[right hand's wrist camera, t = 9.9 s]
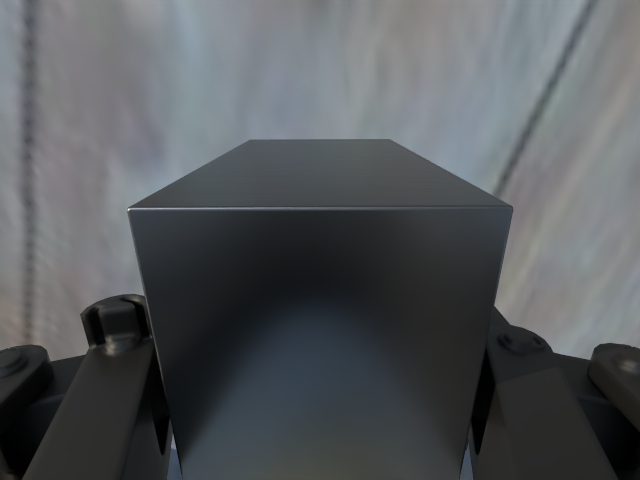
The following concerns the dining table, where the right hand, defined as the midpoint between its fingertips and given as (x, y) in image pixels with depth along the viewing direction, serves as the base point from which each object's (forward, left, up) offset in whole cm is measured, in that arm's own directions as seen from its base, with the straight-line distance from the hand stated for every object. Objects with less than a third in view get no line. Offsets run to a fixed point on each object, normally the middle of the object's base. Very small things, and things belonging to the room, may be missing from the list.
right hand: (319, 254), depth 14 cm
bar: (+2, +13, -1) cm, 13 cm away
